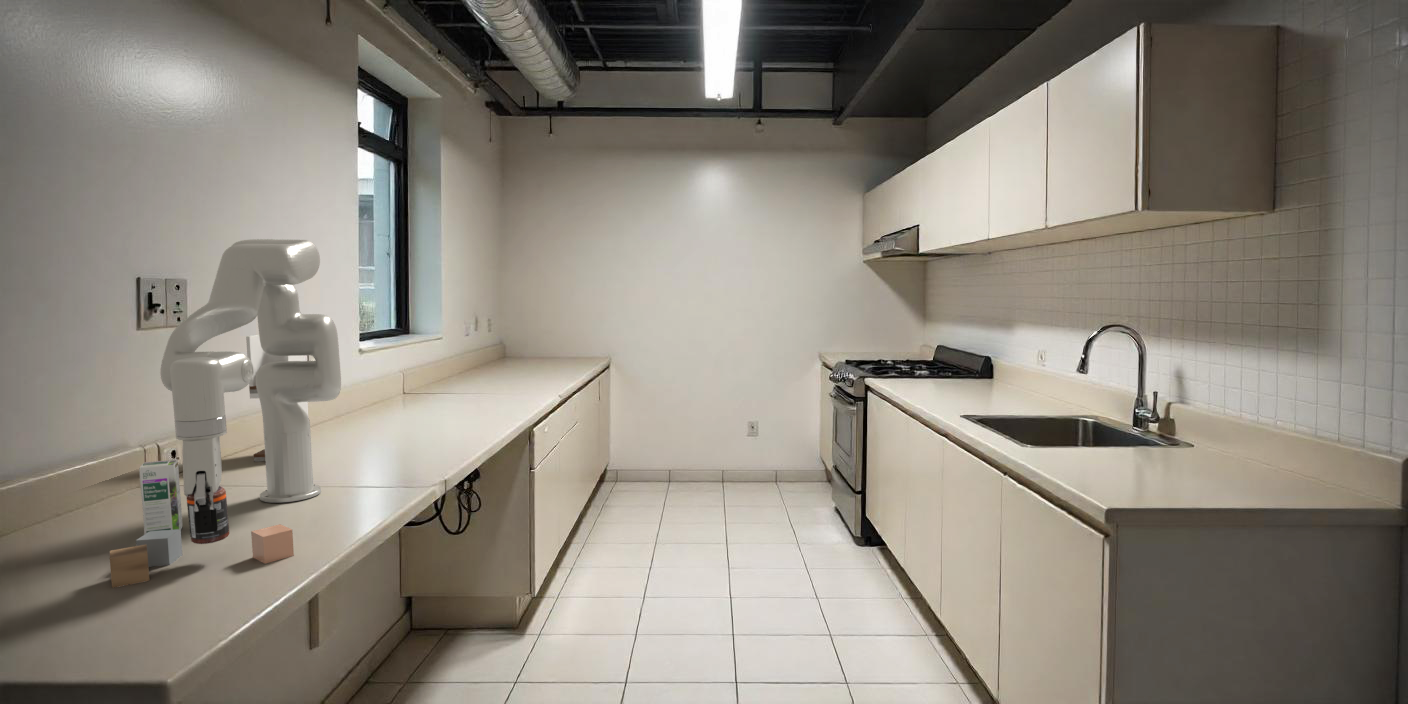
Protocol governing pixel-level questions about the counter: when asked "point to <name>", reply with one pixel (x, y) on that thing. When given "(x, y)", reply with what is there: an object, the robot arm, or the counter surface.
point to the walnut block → (129, 565)
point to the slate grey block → (162, 546)
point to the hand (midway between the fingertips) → (209, 524)
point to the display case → (258, 361)
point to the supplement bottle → (222, 518)
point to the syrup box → (161, 495)
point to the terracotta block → (272, 543)
